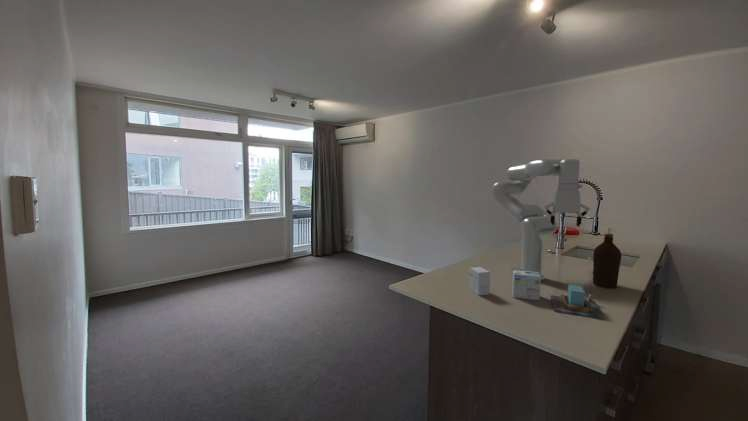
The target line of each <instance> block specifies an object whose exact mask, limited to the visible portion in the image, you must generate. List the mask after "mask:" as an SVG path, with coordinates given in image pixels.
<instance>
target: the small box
mask: <svg viewBox="0 0 748 421" xmlns="http://www.w3.org/2000/svg"><path fill="white" fill-rule="evenodd" d="M490 281H491V272H490V271H489V270H487V269H485V268H484V267H481V266H477V267H470V268H469V288H468V289H469V290H470V291H471V292H472V293H474V294H475V295H477V297H478V296H487V295H489V296H490V288H491V283H490Z"/></svg>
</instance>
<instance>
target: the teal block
mask: <svg viewBox="0 0 748 421" xmlns="http://www.w3.org/2000/svg"><path fill="white" fill-rule="evenodd" d="M567 295H568V298H567V301H568V304H569V305H574V306H581V307H584V299H585V298H586V292H585V290H584V288H583V287H582V286H581V285H575V284H574V285H573V284H568V287H567Z"/></svg>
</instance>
